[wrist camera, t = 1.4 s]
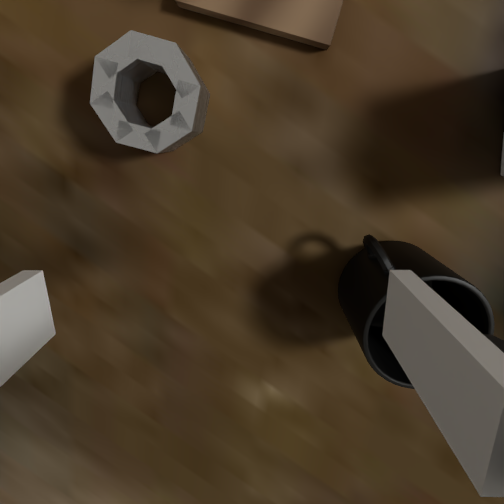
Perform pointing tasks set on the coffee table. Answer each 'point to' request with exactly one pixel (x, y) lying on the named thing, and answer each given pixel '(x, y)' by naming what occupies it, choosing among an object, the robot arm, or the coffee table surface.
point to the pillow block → (277, 17)
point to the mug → (375, 293)
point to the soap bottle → (503, 160)
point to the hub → (127, 89)
